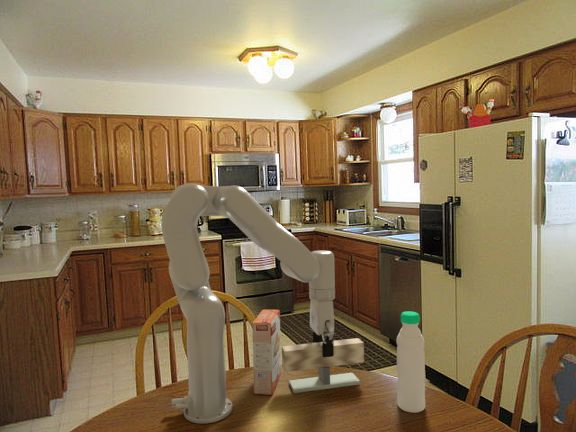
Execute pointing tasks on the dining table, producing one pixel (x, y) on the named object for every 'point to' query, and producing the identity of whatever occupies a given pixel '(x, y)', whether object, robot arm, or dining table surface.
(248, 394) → the dining table surface
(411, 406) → the water bottle
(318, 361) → the birch bar
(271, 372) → the cracker box
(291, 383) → the stand
